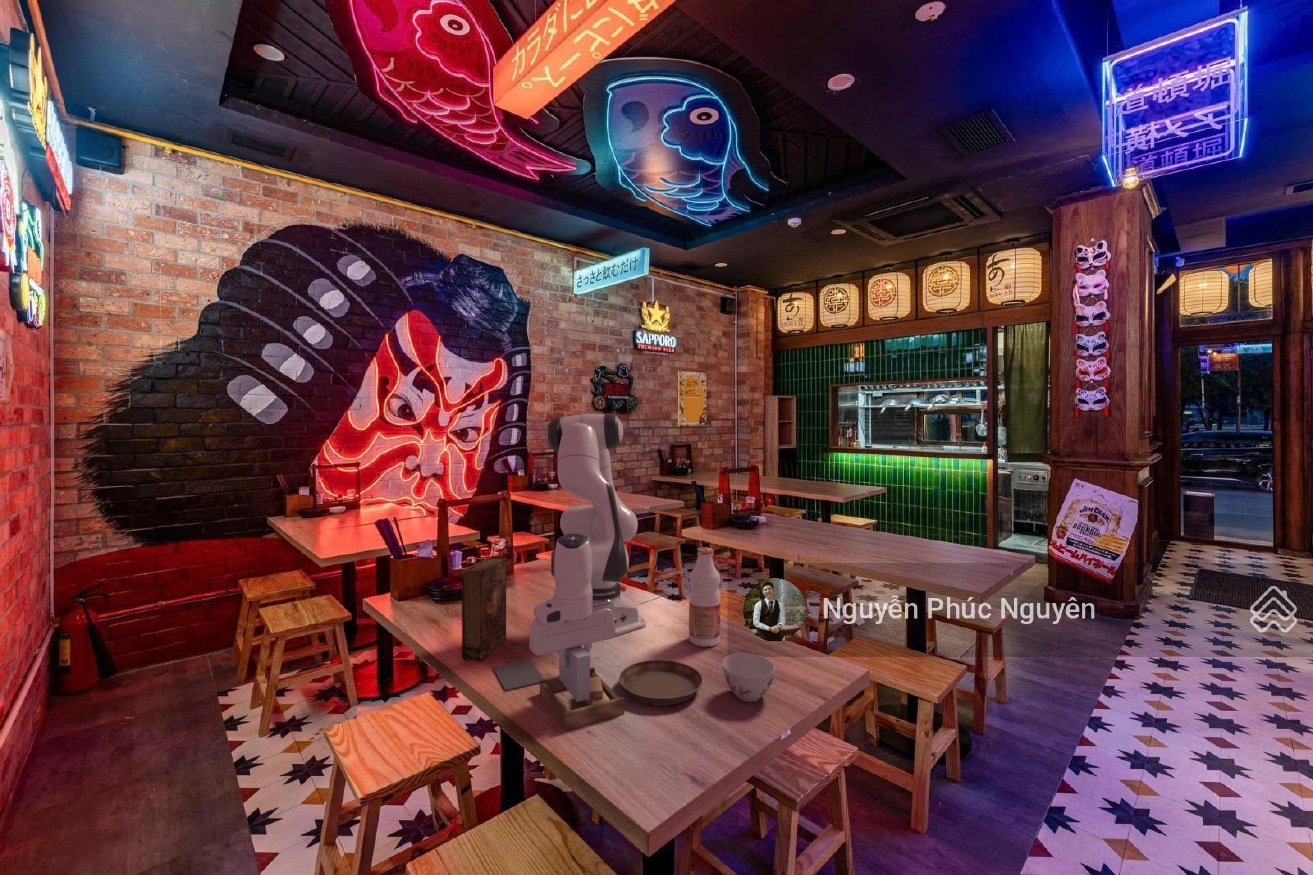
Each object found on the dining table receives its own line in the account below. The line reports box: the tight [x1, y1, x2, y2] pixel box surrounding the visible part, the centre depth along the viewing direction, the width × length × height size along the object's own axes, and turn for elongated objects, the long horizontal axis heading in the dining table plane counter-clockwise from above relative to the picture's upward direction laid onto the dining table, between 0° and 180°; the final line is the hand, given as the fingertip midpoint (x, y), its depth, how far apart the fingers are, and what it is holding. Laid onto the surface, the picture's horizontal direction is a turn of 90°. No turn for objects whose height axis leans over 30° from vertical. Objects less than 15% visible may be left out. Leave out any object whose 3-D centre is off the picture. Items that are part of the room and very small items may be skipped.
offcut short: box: [584, 676, 603, 702], centre depth 128 cm, size 4×7×2 cm, turn 11°
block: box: [558, 645, 591, 703], centre depth 126 cm, size 3×12×10 cm, turn 29°
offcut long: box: [585, 691, 610, 706], centre depth 128 cm, size 4×10×2 cm, turn 25°
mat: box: [492, 658, 545, 692], centre depth 141 cm, size 10×14×1 cm
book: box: [461, 556, 507, 662], centre depth 156 cm, size 16×6×25 cm, turn 168°
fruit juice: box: [688, 546, 722, 648], centre depth 163 cm, size 9×9×28 cm
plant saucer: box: [618, 659, 704, 707], centre depth 134 cm, size 21×21×3 cm
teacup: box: [722, 652, 776, 703], centre depth 131 cm, size 15×12×8 cm
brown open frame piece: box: [539, 666, 625, 732], centre depth 127 cm, size 14×18×4 cm
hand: (574, 664), depth 126 cm, fingers closed on block, 3 cm apart
